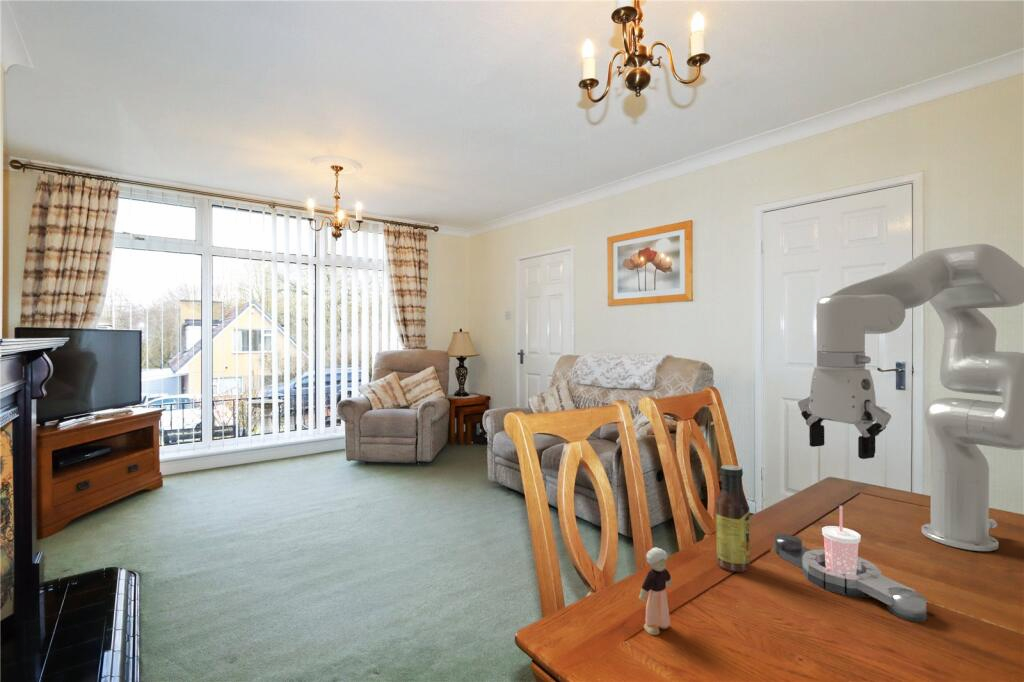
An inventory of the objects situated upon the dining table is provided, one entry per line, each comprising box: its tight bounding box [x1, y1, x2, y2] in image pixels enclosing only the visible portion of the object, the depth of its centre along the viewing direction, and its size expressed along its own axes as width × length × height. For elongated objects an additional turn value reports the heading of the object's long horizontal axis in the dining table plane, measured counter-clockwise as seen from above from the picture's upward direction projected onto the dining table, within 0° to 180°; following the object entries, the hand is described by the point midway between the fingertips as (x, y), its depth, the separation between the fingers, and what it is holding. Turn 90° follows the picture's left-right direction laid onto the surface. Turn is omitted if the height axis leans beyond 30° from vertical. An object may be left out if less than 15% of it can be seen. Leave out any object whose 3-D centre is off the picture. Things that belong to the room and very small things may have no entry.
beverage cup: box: [821, 505, 862, 575], centre depth 91 cm, size 6×6×14 cm
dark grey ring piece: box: [774, 533, 872, 598], centre depth 95 cm, size 12×20×3 cm, turn 18°
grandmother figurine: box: [638, 546, 673, 636], centre depth 77 cm, size 8×4×13 cm, turn 137°
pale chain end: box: [802, 548, 927, 623], centre depth 87 cm, size 12×20×3 cm, turn 18°
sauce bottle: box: [715, 464, 751, 573], centre depth 97 cm, size 7×6×20 cm
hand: (840, 451), depth 91 cm, fingers open, 9 cm apart
